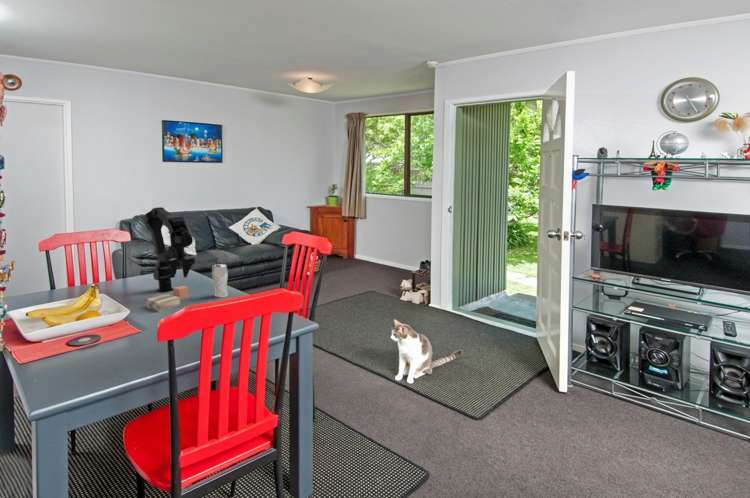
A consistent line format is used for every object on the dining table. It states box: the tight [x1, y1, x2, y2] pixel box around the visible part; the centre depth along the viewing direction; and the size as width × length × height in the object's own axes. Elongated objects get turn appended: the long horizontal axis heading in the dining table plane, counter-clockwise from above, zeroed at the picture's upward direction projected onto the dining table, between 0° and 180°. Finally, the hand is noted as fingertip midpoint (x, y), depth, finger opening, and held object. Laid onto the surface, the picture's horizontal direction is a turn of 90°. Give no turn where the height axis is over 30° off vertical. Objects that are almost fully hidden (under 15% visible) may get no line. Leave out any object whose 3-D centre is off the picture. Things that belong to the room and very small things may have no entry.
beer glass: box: [211, 263, 229, 298], centre depth 230 cm, size 7×7×15 cm
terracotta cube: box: [172, 285, 190, 300], centre depth 229 cm, size 5×5×5 cm
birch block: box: [145, 293, 181, 313], centre depth 214 cm, size 10×10×4 cm
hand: (179, 275), depth 227 cm, fingers open, 9 cm apart
